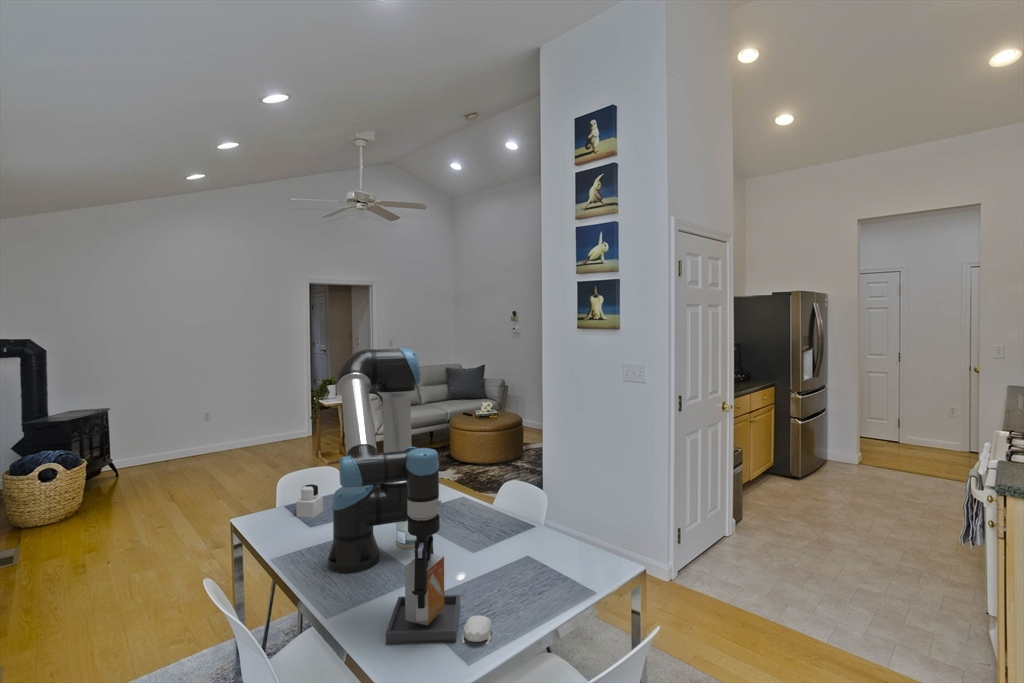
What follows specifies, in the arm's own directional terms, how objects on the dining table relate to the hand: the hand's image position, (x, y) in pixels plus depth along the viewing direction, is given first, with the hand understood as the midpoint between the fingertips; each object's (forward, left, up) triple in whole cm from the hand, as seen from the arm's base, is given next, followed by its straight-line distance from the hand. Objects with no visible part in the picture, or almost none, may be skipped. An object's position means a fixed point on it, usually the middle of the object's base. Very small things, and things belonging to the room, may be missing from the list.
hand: (425, 607), depth 120 cm
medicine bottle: (-53, +73, -4) cm, 91 cm away
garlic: (+13, -6, -4) cm, 15 cm away
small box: (0, 0, -2) cm, 2 cm away
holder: (0, 0, -4) cm, 4 cm away
